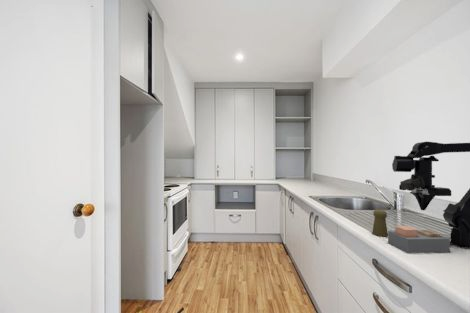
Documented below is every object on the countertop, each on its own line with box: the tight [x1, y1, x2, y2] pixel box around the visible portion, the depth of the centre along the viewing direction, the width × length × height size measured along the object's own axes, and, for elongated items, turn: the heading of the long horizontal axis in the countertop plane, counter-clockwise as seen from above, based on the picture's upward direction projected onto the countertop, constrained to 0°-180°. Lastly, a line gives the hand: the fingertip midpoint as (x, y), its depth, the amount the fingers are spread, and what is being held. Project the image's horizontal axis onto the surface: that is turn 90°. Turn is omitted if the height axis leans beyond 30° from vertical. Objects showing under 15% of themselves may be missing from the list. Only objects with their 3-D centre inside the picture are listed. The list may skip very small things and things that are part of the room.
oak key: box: [417, 229, 441, 237], centre depth 90 cm, size 5×5×6 cm
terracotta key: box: [395, 225, 418, 237], centre depth 89 cm, size 5×5×6 cm
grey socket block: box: [387, 230, 451, 254], centre depth 89 cm, size 16×10×5 cm, turn 93°
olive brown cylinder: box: [371, 209, 388, 238], centre depth 105 cm, size 6×6×11 cm
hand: (422, 210), depth 96 cm, fingers closed
